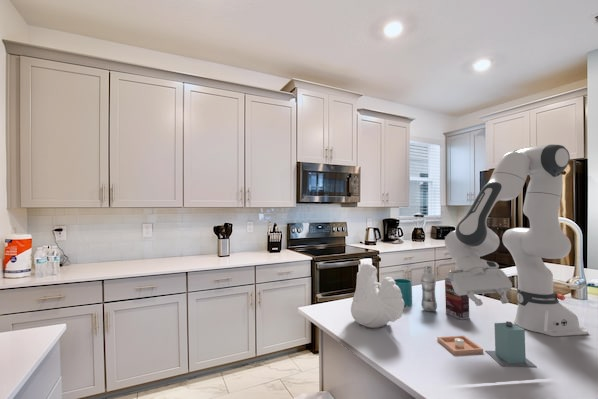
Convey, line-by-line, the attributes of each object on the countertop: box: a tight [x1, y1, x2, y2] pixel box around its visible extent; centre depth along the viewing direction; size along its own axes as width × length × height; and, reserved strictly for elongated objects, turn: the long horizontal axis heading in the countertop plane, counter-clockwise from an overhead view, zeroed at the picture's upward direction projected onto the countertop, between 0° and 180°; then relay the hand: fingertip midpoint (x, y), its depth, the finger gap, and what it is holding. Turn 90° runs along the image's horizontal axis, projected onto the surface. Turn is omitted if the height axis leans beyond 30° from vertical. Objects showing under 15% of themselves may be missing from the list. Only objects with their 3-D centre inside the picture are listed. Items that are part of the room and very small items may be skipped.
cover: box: [494, 321, 527, 363], centre depth 93 cm, size 6×6×11 cm
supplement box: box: [444, 277, 470, 321], centre depth 130 cm, size 9×5×16 cm, turn 23°
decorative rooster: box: [350, 262, 405, 329], centre depth 120 cm, size 25×16×25 cm, turn 17°
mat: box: [485, 350, 538, 368], centre depth 93 cm, size 10×9×1 cm
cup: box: [393, 278, 413, 307], centre depth 147 cm, size 9×12×11 cm
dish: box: [436, 335, 484, 356], centre depth 101 cm, size 10×10×3 cm
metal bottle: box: [420, 266, 438, 312], centre depth 137 cm, size 6×7×20 cm
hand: (493, 303), depth 100 cm, fingers open, 8 cm apart
